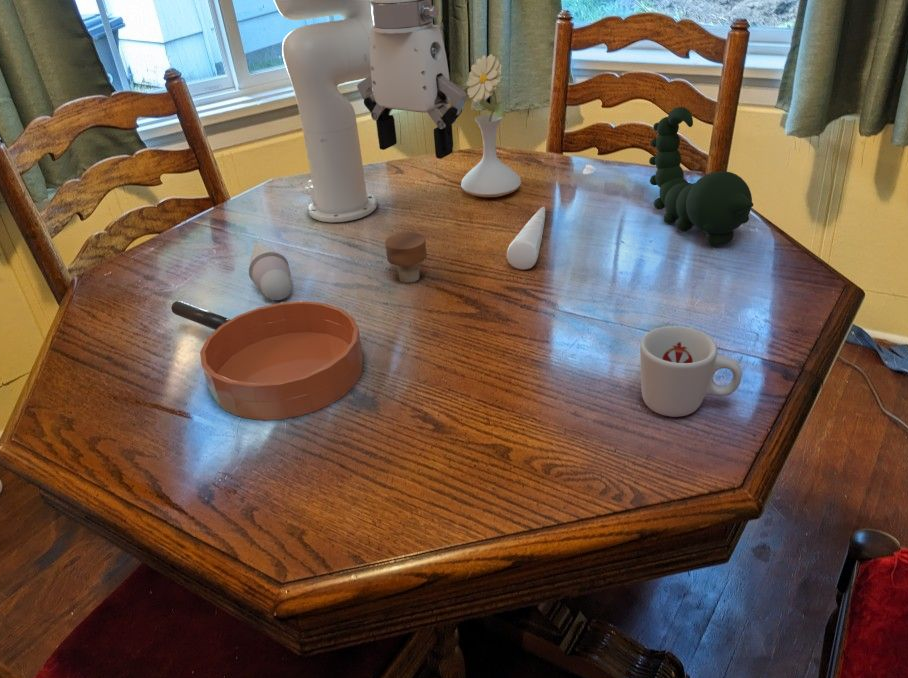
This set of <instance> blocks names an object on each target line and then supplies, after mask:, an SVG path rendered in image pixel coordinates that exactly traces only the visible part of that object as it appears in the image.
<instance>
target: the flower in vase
mask: <svg viewBox="0 0 908 678" xmlns="http://www.w3.org/2000/svg"><path fill="white" fill-rule="evenodd" d="M502 67H503V66H502V64H500V61H499V59H498V58H496V56H495V55H493V54H492V53H490V54H489V55H487V56H486V55H485V54H484V55H482V56H481V58H478V59H477V60H476V64H472V65H471V67H470V69H471V70H470V72H469V73H468V79H467V82H466V86H467V87H468V88H467V92H466V94H467V96H468V97H469V99H473V102H474V103H477V102H478V104H479V105H480V106H481V107H483V108H484V109H485V110H487V111H489V112H490V113H484V114H480V115H477V116H475V117H474V121H475V122H476V124H477V125H478V127H479V129H480V132H481V136H482V143H483V152H482V153H483V154H482V158H481V160H480V161H479V162H478V163H477V164H476V165H474V167H472V168H471V169H470V170H469V171H468V172H467V173H466V174H465V175H464V176H463V177H462V180H461V183H460V186H461V189H462V190H463V191H464V192H465V193H467V194H468V195H471V196H475V197H480V198H498V197H502V196H503V197H504V196H505V195H509V194H511V193H513V192H515V191H517V190H518V189H519V187H520V186H521V184H522V179H521V177H520V175H519V174H518V173H517V172H516V170H514V169H513V168H511V167H510V166H508V165H507V164H505V163H504V162H503V161H502V160H500V159H499V156H498V155H497V154H498V153H497V146H496V145H497V144H496V141H497V131H498V129H499V125H500V123H501V121H502V119H503V117H506V113H505V110H504V109H505V108H504V104H503V102H502V101H498V102H497V95H496V92H495V91H496V90H497V86H498V84H500V82H501V80H502V79H501V75H502ZM491 96H493V99H494V102H493V106H492V104H491V103H490V102H488V101H486V100H488V99H489V97H491Z"/></svg>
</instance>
